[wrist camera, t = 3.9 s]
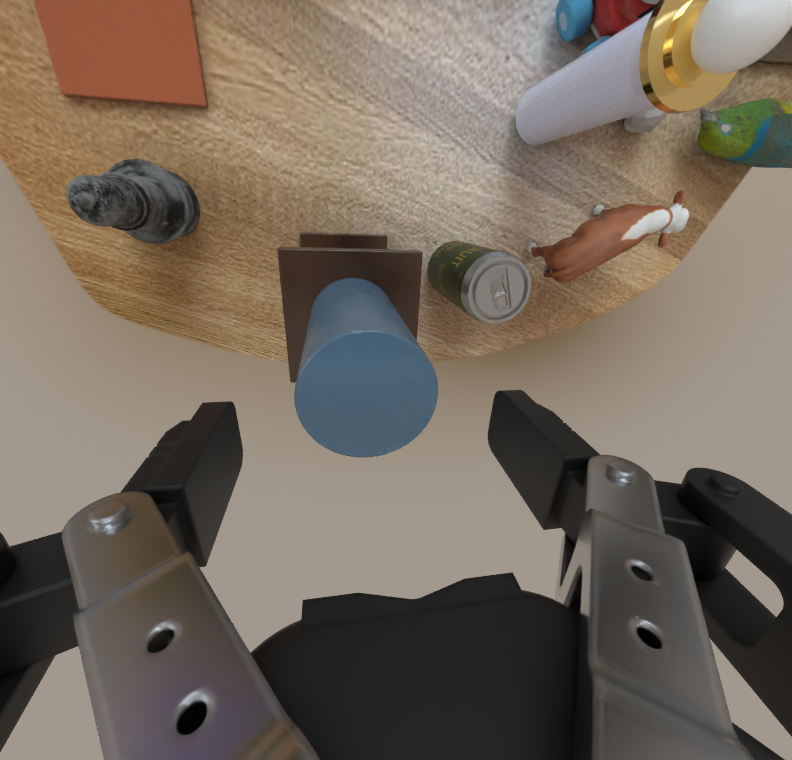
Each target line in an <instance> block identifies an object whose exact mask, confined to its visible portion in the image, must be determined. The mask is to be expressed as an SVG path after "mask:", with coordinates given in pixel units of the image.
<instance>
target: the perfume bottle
mask: <svg viewBox="0 0 792 760" xmlns="http://www.w3.org/2000/svg"><path fill="white" fill-rule="evenodd" d="M636 17H637V18H640V19H639V20H637V21H635V22H634V23H632V24H631V25H629V26H627V27H626V28H624V29H623V30H621V31H620V32H618V33H616V34H615V35H613V36H612V37H610V38H608V39H607V40H605V41H604V42H602V43H600V44H599V45H597V46H596V47H594V48H592V49H591V50H589V51H588V52H586V53H584V54H583V55H581V56H580V57H578V58H577V59H575V60H573V61H572V62H570V63H569V64H567V65H565V66H564V67H562V68H561V69H559V70H557V71H556V72H554V73H553V74H551V75H549V76H548V77H546V78H545V79H543V80H541V81H540V82H538V83H537V84H535V85H534V86H532V87H531V88H529V89H528V90H527V91H526V92H525V93H524V95H523V96H522V98H521V99H520V102H519V104H518V107H517V111H516V127H517V131H518V133H519V135H520V137H521V138H522V139H523V140H524V141H525V142H526V143H528V144H529V145H533V146H539V145H543V144H546V143H549V142H552V141H555V140H558V139H562V138H565V137H568V136H571V135H574V134H577V133H580V132H583V131H587V130H590V129H593V128H596V127H599V126H602V125H605V124H608V123H612V122H615V121H618V120H621V119H624V118H627V117H630V116H633V115H637V114H640V113H643V112H646V111H649V110H652V109H655V108H658V109H659V110H660V111H663V112H666V113H677V114H679V113H682V112H686V111H690V110H694V109H697V108H699V107H701V106H703V105H705V104H707V103H709V102H710V101H711V100H713V99H714V98H715V97H717V96H718V95H719V94H720V93H721V92H722V91H723V90H724V89H725V88H726V87H727V85H728V84H729V83H730V81H731V80H732V79H733V77H734V76H735V75H736V73H737V71H739V70H741V69H743V68H745V67H747V66H749V65H751V64H753V63H755V62H756V61H758V60H759V59H761V58H762V57H763V56H765V55H766V54H767V53H769V52H770V51H771V50H772V49H773V48H774V47H775V46H776V45H777V44H778V43H779V42H780V41H781V40H782V39H783V37H784V36H785V35H786V34H787V32H788V31H789V30H790V28H791V27H792V0H659V2H658V3H657V4H655V5H654V6H652V7H651V8H649V9H647V10H646V11H644V12H643V13H641V14H640V15H638V16H636Z"/></svg>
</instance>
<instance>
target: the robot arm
mask: <svg viewBox="0 0 792 760" xmlns="http://www.w3.org/2000/svg"><path fill="white" fill-rule="evenodd" d="M488 442H489V446H490V448H491V451H492V453H493V454H494V456H495V457H496V459H497V460H498V462H499V463H500V465H501V466H502V468H503V469H504V471H505V472H506V474H507V475H508V477H509V478H510V480H511V481H512V483H513V484H514V486H515V487H516V489H517V490H518V492H519V493H520V495H521V496H522V498H523V499H524V501H525V502H526V504H527V505H528V507H529V508H530V510H531V511H532V513H533V514H534V516H535V517H536V519H537V520H538V522H539V523H540V525H541V526H542V528H543V529H544V530H546V529H556V528H562V529H563V530H564V532H565V534H564V537H563V540H562V545H561V553H560V561H559V569H558V577H557V585H556V593H555V600H553V599H551V598H548V597H546V596H543V595H540V594H536V593H532V592H529V591H524V590H521V589H520V586H519V584H518V583H517V580H516V579H515V576H514V574H513V573H505V574H498V575H490V576H483V577H475V578H467V579H463V580H461V581H459V582H456V583H454V584H452V585H449V586H447V587H445V588H442V589H440V590H438V591H435V592H433V593H431V594H428V595H426V596H424V597H422V598H418V599H405V598H396V597H388V596H380V595H372V594H363V593H353V594H346V595H339V596H330V597H322V598H315V599H307V600H303V606H302V620H300V621H297V622H295V623H293V624H290V625H289V626H287V627H285V628H283V629H281V630H280V631H278V632H276V633H275V634H274V635H272V636H271V637H269V638H268V639H266V640H265V641H264V642H262V644H260V645H259V646H258V647H257V648H256V649H254V650H253V651H252V652H251V653H250V652H249V650H248V649H247V647H246V645H245V643H244V642H243V640H242V638H241V637H240V635H239V634H238V632H237V630H236V629H235V627H234V625H233V623H232V622H231V620H230V618H229V617H228V615H227V613H226V612H225V610H224V608H223V607H222V605H221V603H220V602H219V600H218V598H217V596H216V595H215V593H214V591H213V590H212V588H211V586H210V585H209V583H208V582H207V580H206V578H205V576H204V575H203V573H202V572H201V570H200V568H199V567H204V566H206V564H207V562H208V559H209V556H210V553H211V550H212V548H213V545H214V542H215V539H216V536H217V534H218V531H219V528H220V525H221V523H222V520H223V517H224V514H225V511H226V508H227V506H228V503H229V500H230V497H231V495H232V492H233V489H234V486H235V483H236V480H237V478H238V475H239V472H240V469H241V466H242V458H243V449H242V442H241V437H240V431H239V426H238V420H237V415H236V409H235V406H234V404H233V402H208V403H202V405H201V406H200V407H199V409H198V410H197V412H196V413H195V415H194V416H193V418H192V419H191V420H190V421H182V422H180V423H179V424H177V425H176V426H174V427H173V428H171V429H170V430H168V431H167V432H166V433H165V435H164V436H163V437H162V438H161V440H160V441H159V442H158V444H157V447H155V448H154V449H153V450H152V451H151V453H150V454H149V457H147V458H146V459H145V461H144V462H143V463H142V465H141V466H140V468H139V469H138V470H137V471H136V473H135V474H134V475H133V477H132V478H131V479H130V481H129V482H128V483H127V485H126V486H125V487H124V489H123V490H122V491H121V492H120V493H116V494H113V495H110V496H107V497H104V498H102V499H99V500H97V501H95V502H93V503H91V504H89V505H88V506H86V507H85V508H83V509H82V510H80V511H79V512H78V513H76V514H75V515H74V516H73V517H72V518H71V519H70V520H69V521H68V523H67V524H66V525H65V527H64V529H63V531H62V532H59V533H56V534H53V535H49V536H45V537H42V538H39V539H35V540H31V541H28V542H24V543H21V544H18V545H14V546H11V547H9V545H8V543H7V541H6V540H5V538H4V537H3V535H2V534H1V533H0V752H1V750H2V748H3V746H4V745H5V743H6V741H7V739H8V738H9V736H10V734H11V732H12V731H13V729H14V727H15V725H16V724H17V722H18V720H19V718H20V716H21V714H22V713H23V711H24V710H25V708H26V706H27V704H28V702H29V701H30V699H31V697H32V696H33V694H34V692H35V690H36V688H37V687H38V685H39V683H40V681H41V680H42V678H43V676H44V674H45V673H46V671H47V669H48V667H49V666H50V664H51V662H52V660H53V659H54V657H55V655H57V654H59V653H62V652H64V651H67V650H69V649H72V648H74V647H77V646H79V649H80V654H81V658H82V662H83V667H84V672H85V676H86V681H87V685H88V689H89V694H90V699H91V703H92V707H93V712H94V717H95V721H96V726H97V730H98V735H99V739H100V744H101V748H102V753H103V757H104V760H784V759H783V758H781V757H780V756H779V755H777V754H776V753H774V752H773V751H772V750H770V749H769V748H767V747H766V746H765V745H763V744H762V743H760V742H759V741H758V740H756V739H755V738H753V737H752V736H751V735H749V734H748V733H746V732H745V731H744V730H742V729H741V728H739V727H738V726H737V725H735V724H734V723H732V722H731V718H730V714H729V711H728V707H727V703H726V699H725V695H724V691H723V688H722V684H721V680H720V676H719V672H718V669H717V665H716V661H715V657H714V654H713V649H712V646H711V642H710V639H711V640H712V641H713V642H714V643H715V645H716V646H717V647H718V648H719V650H720V651H721V652H722V653H723V654H724V656H725V657H726V658H727V659H728V660H729V662H730V663H731V664H732V665H733V666H734V667H735V669H736V670H737V671H738V672H739V674H740V675H741V676H742V677H743V678H744V680H745V681H746V682H747V683H748V684H749V686H750V687H751V688H752V689H753V690H754V692H755V693H756V694H757V695H758V696H759V698H760V699H761V700H762V701H763V703H764V704H765V705H766V706H767V707H768V708H769V710H770V711H771V712H772V713H773V714H774V716H775V717H776V718H777V719H778V721H779V722H780V723H781V724H782V725H783V726H784V728H785V729H786V730H787V731H788V733H789V734H790V735H791V736H792V514H790V513H789V512H787V511H786V510H784V509H783V508H781V507H780V506H779V505H777V504H776V503H774V502H773V501H771V500H770V499H768V498H767V497H765V496H764V495H763V494H761V493H760V492H758V491H757V490H755V489H754V488H753V487H751V486H749V485H748V484H747V483H745V482H743V481H741V480H739V479H737V478H735V477H733V476H731V475H728V474H726V473H723V472H720V471H716V470H712V469H708V468H693V469H690V470H688V472H687V473H686V476H685V477H684V479H683V481H682V484H676V483H669V482H662V481H655V480H653V478H652V477H651V475H650V474H649V473H648V472H647V471H646V470H644V469H643V468H642V467H640V466H638V465H637V464H635V463H633V462H631V461H628V460H626V459H623V458H620V457H616V456H611V455H600V454H599V453H598V452H597V451H595V450H594V449H593V448H592V447H591V446H590V445H589V444H587V442H586V441H584V440H583V439H582V438H581V437H580V436H579V435H578V434H577V433H576V432H574V431H572V429H571V428H570V427H569V426H568V425H567V424H566V423H563V421H562V420H561V419H560V418H559V417H558V416H557V415H556V414H555V413H554V412H552V411H550V410H548V409H547V408H545V407H543V406H541V405H539V404H536V403H535V402H534V401H533V400H532V399H531V398H530V397H529V396H528V395H527V394H526V393H525V392H524V391H522V390H508V391H498V392H497V393H496V394H495V396H494V401H493V407H492V413H491V418H490V424H489V430H488ZM736 550H738V551H739V552H741V553H742V554H743V555H744V556H745V557H746V558H747V559H748V560H750V561H751V562H752V563H753V564H754V565H755V566H757V568H759V569H760V570H761V571H762V572H763V573H764V574H765V575H766V576H768V577H769V578H770V579H771V580H772V581H773V582H774V583H775V584H776V586H777V587H778V589H779V590H780V592H781V594H782V597H783V600H784V607H783V610H782V611H781V612H780V614H779V615H778V616H777V617H775V616H774V615H773V614H772V613H771V612H770V611H769V610H768V609H767V608H766V607H765V606H764V605H763V604H761V602H760V601H759V600H758V599H757V598H755V596H753V595H752V594H751V593H750V592H749V591H748V590H747V589H746V588H745V587H744V586H743V585H742V584H741V583H740V582H739V581H738V580H737V579H736V578H735V577H734V576H733V575H732V574H731V573H730V572H729V571H728V570H727V569H726V568H725V567H726V565H727V564H728V562H729V560H730V559H731V557H732V556H733V554H734V553H735V551H736Z"/></svg>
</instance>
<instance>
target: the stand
mask: <svg viewBox="0 0 792 760" xmlns="http://www.w3.org/2000/svg"><path fill="white" fill-rule="evenodd" d="M300 243H301V247H279V248H278V249H277V251H278V261H279V271H280V281H281V291H282V301H283V311H284V321H285V331H286V341H287V351H288V361H289V371H290V381H291V382H296V381H297V376H298V371H299V367H300V362H301V357H302V352H303V348H304V343H305V338H306V333H307V329H308V324H309V319H310V315H311V310H312V307H313V304H314V302H315V299H316V298H317V296H318V295H319V294H320V292H321V291H322V290H323V289H324V288H326V287H327V286H328V285H330V284H331V283H333V282H335V281H338V280H341V279H346V278H359V279H363V280H366V281H369V282H371V283H373V284H375V285H376V286H378V287H379V288H380V289H382V290H383V291H384V293H385V294H386V295H387V296H388V298H389V299H390V301H391V302H392V304H393V305H394V307H395V309H396V310H397V312H398V313H399V315H400V316H401V318H402V319H403V321H404V322H405V324H406V325H407V327H408V328H409V330H410V331H411V333H412V335H413V336H414V338H415V339H416V341H417V329H418V313H419V298H420V283H421V268H422V252H421V251H419V250H397V249H387V236H386V235H365V234H333V233H302V232H301V233H300Z"/></svg>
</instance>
